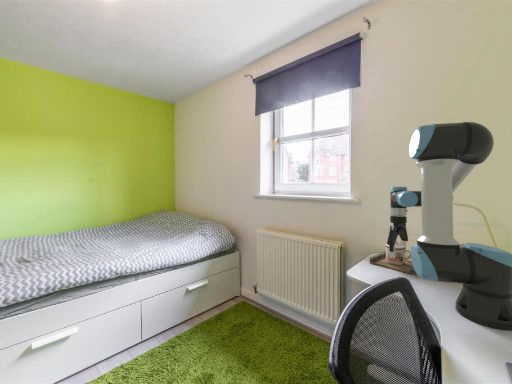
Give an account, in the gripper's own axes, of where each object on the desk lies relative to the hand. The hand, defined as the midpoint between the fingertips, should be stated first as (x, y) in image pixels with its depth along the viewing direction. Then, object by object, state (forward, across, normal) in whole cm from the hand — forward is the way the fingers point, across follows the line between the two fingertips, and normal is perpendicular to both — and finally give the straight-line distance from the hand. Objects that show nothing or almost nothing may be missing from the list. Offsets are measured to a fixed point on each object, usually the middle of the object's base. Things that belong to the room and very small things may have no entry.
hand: (397, 255), depth 125 cm
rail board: (+5, 0, 0) cm, 5 cm away
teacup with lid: (+4, 0, 0) cm, 4 cm away
